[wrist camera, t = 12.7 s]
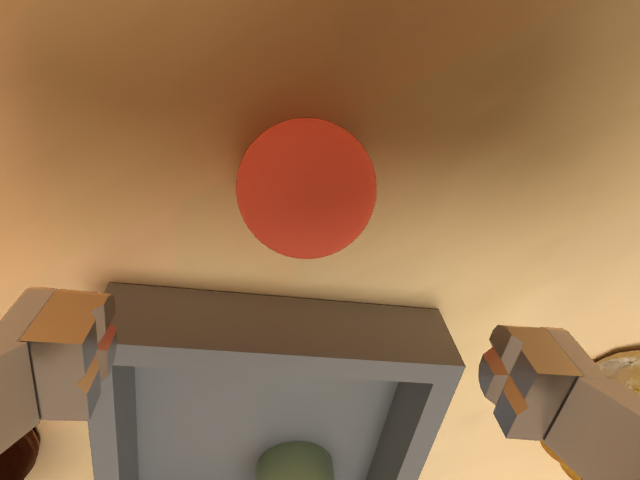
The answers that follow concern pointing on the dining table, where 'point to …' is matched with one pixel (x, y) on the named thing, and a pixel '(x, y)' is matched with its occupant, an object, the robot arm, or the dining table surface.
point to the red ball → (306, 188)
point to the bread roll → (624, 367)
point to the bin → (268, 385)
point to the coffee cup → (19, 457)
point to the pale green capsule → (295, 462)
